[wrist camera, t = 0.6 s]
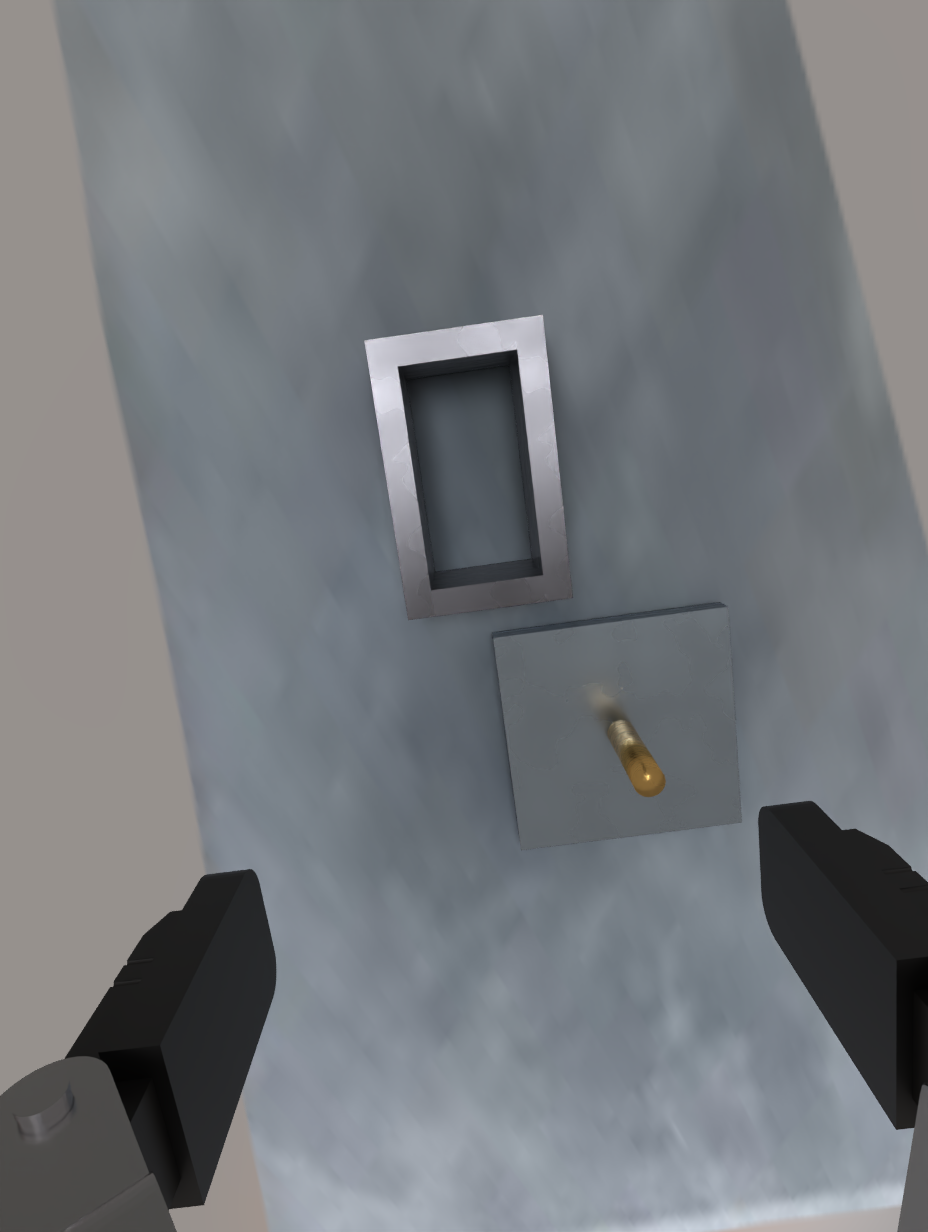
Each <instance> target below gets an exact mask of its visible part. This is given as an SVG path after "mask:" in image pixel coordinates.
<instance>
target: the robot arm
mask: <svg viewBox="0 0 928 1232" xmlns="http://www.w3.org/2000/svg"><path fill="white" fill-rule="evenodd" d="M758 826H759V848H760V870H761V892H762V901H763V907H764V911H765V915H766V919H767V922H768V925H769V927H770V930H771V932H772V934H773V936H774V938H775V940H776V941H777V943H778V944H779V946H780V948H781V949H782V951H783V952H784V954H785V955H786V957H787V959H788V960H789V962H790V963H791V965H792V966H793V968H794V970H795V971H796V973H797V974H798V976H799V977H800V979H801V981H802V982H803V984H804V985H805V987H806V989H807V990H808V992H809V993H810V995H811V996H812V998H813V1000H814V1001H815V1003H816V1004H817V1006H818V1007H819V1009H820V1011H821V1012H822V1014H823V1015H824V1017H825V1018H826V1020H827V1022H828V1023H829V1025H830V1026H831V1028H832V1029H833V1031H834V1033H835V1034H836V1036H837V1037H838V1039H839V1040H840V1042H841V1044H842V1045H843V1047H844V1048H845V1050H846V1052H847V1053H848V1055H849V1056H850V1058H851V1059H852V1061H853V1063H854V1064H855V1066H856V1067H857V1069H858V1070H859V1072H860V1074H861V1075H862V1077H863V1078H864V1080H865V1081H866V1083H867V1085H868V1086H869V1088H870V1089H871V1091H872V1092H873V1094H874V1096H875V1097H876V1099H877V1100H878V1102H879V1103H880V1105H881V1107H882V1108H883V1110H884V1111H885V1113H886V1115H887V1116H888V1118H889V1119H890V1121H891V1122H892V1124H893V1126H894V1127H895V1129H896V1130H898V1129H907V1128H914V1134H913V1140H912V1146H911V1152H910V1158H909V1164H908V1170H907V1176H906V1183H905V1189H904V1195H903V1201H902V1207H901V1214H900V1219H899V1226H898V1231H897V1232H928V882H927V881H926V880H925V879H924V878H923V877H921V876H920V875H919V874H918V873H917V872H916V871H912V869H911V866H910V865H909V864H908V863H907V862H906V861H904V860H903V859H902V858H901V857H900V856H899V855H898V854H897V853H896V852H895V851H894V850H893V849H892V848H891V847H890V846H889V845H887V844H885V843H883V842H881V841H879V840H877V839H875V838H873V837H871V836H869V835H867V834H865V833H863V832H861V831H859V830H857V829H849V830H841V829H840V828H839V827H838V826H837V825H836V824H835V823H834V822H833V821H832V820H831V819H830V818H829V817H828V816H827V815H826V814H825V813H824V812H823V810H822V809H821V808H820V807H819V806H818V805H817V804H815V803H814V802H812V801H805V802H797V803H789V804H781V805H773V806H765V807H762V808H761V809H760V812H759V818H758ZM275 985H276V957H275V951H274V946H273V942H272V938H271V933H270V929H269V924H268V920H267V915H266V911H265V906H264V902H263V897H262V893H261V888H260V884H259V880H258V877H257V875H256V873H255V872H254V871H253V870H252V869H248V870H240V871H232V872H224V873H216V874H208V875H204V876H203V877H202V878H201V879H200V881H199V882H198V884H197V886H196V887H195V889H194V891H193V893H192V894H191V896H190V898H189V899H188V901H187V903H186V904H185V906H184V908H183V910H181V911H172V912H170V913H168V914H167V915H166V916H165V917H164V918H163V919H161V920H160V921H159V922H158V923H157V924H156V925H154V926H153V927H152V928H151V929H150V930H149V931H148V932H147V933H145V934H144V935H143V937H142V938H141V940H140V941H139V943H138V944H137V946H136V948H135V949H134V951H133V952H132V954H131V955H130V957H129V958H128V960H127V965H125V966H123V968H122V969H121V971H120V973H119V974H118V976H117V977H116V979H115V980H114V986H113V987H110V988H109V990H108V991H107V993H106V994H105V996H104V998H103V999H102V1001H101V1002H100V1004H99V1005H98V1007H97V1009H96V1010H95V1012H94V1013H93V1015H92V1016H91V1018H90V1020H89V1021H88V1023H87V1024H86V1026H85V1027H84V1029H83V1030H82V1032H81V1034H80V1035H79V1037H78V1038H77V1040H76V1042H75V1043H74V1045H73V1046H72V1048H71V1049H70V1051H69V1052H68V1054H67V1056H66V1057H65V1059H63V1060H59V1061H56V1062H53V1063H51V1064H48V1065H46V1066H44V1067H42V1068H39V1069H37V1070H35V1071H34V1072H32V1073H30V1074H29V1075H27V1076H25V1077H24V1078H22V1079H21V1080H20V1081H18V1082H17V1083H15V1084H14V1085H13V1086H11V1087H10V1088H9V1089H8V1090H6V1091H5V1092H4V1093H3V1094H2V1095H1V1096H0V1232H177V1231H176V1229H175V1226H174V1223H173V1221H172V1218H171V1216H170V1213H169V1209H173V1208H182V1207H191V1206H199V1205H204V1203H205V1200H206V1197H207V1194H208V1191H209V1188H210V1185H211V1182H212V1179H213V1176H214V1173H215V1170H216V1167H217V1164H218V1161H219V1158H220V1155H221V1152H222V1149H223V1146H224V1143H225V1140H226V1137H227V1134H228V1131H229V1128H230V1125H231V1122H232V1119H233V1116H234V1113H235V1110H236V1107H237V1104H238V1101H239V1098H240V1095H241V1092H242V1089H243V1086H244V1083H245V1080H246V1077H247V1074H248V1071H249V1068H250V1065H251V1062H252V1059H253V1056H254V1053H255V1050H256V1047H257V1044H258V1041H259V1038H260V1035H261V1032H262V1029H263V1026H264V1023H265V1020H266V1017H267V1014H268V1011H269V1008H270V1005H271V1002H272V999H273V996H274V991H275Z"/></svg>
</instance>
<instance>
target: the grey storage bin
mask: <svg viewBox="0 0 928 1232" xmlns="http://www.w3.org/2000/svg"><path fill="white" fill-rule="evenodd" d="M365 347H366V353H367V359H368V366H369V372H370V379H371V385H372V391H373V398H374V404H375V410H376V417H377V423H378V430H379V436H380V442H381V449H382V455H383V462H384V468H385V474H386V481H387V487H388V494H389V500H390V506H391V513H392V519H393V526H394V532H395V538H396V545H397V551H398V558H399V564H400V570H401V577H402V583H403V590H404V596H405V602H406V609H407V615H408V620H413V619H420V618H428V617H435V616H443V615H450V614H458V613H465V612H472V611H480V610H487V609H495V608H502V607H510V606H517V605H524V604H532V603H539V602H547V601H554V600H562V599H569V598H573V594H572V584H571V575H570V566H569V556H568V547H567V538H566V528H565V519H564V510H563V500H562V491H561V482H560V472H559V463H558V454H557V444H556V435H555V426H554V416H553V407H552V398H551V388H550V379H549V370H548V360H547V351H546V342H545V332H544V323H543V315H538V316H531V317H524V318H517V319H510V320H503V321H496V322H490V323H483V324H476V325H469V326H462V327H455V328H448V329H441V330H434V331H427V332H420V333H413V334H406V335H399V336H392V337H386V338H379V339H372V340H365ZM506 365H509V369H510V378H511V386H512V395H513V403H514V412H515V420H516V429H517V437H518V445H519V454H520V462H521V471H522V479H523V488H524V496H525V505H526V513H527V522H528V530H529V539H530V547H531V556H532V559H527V560H519V561H512V562H505V563H497V564H490V565H483V566H475V567H468V568H461V569H453V570H446V571H439V572H435V568H434V561H433V555H432V548H431V541H430V534H429V527H428V520H427V514H426V507H425V500H424V493H423V486H422V479H421V473H420V466H419V459H418V452H417V445H416V438H415V432H414V425H413V418H412V411H411V404H410V397H409V391H408V384H407V380H408V379H415V378H422V377H429V376H436V375H443V374H450V373H457V372H464V371H471V370H478V369H485V368H492V367H499V366H506Z"/></svg>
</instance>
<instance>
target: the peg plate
mask: <svg viewBox="0 0 928 1232" xmlns="http://www.w3.org/2000/svg"><path fill="white" fill-rule="evenodd" d="M492 634H493V642H494V650H495V657H496V665H497V672H498V680H499V687H500V695H501V703H502V710H503V718H504V725H505V733H506V740H507V748H508V756H509V763H510V771H511V778H512V786H513V793H514V801H515V809H516V816H517V824H518V831H519V839H520V845H521V850H527V849H535V848H543V847H551V846H559V845H566V844H574V843H582V842H590V841H598V840H606V839H614V838H622V837H630V836H638V835H646V834H654V833H662V832H670V831H678V830H685V829H693V828H701V827H709V826H717V825H725V824H733V823H741V822H742V819H741V803H740V787H739V771H738V755H737V739H736V723H735V707H734V690H733V674H732V658H731V642H730V626H729V610H728V606H726V605H724V604H722V603H721V602H718V603H711V604H703V605H696V606H688V607H681V608H673V609H666V610H658V611H651V612H643V613H636V614H628V615H621V616H613V617H606V618H598V619H591V620H583V621H576V622H568V623H561V624H553V625H546V626H538V627H531V628H523V629H516V630H508V631H501V632H493V633H492Z"/></svg>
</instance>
